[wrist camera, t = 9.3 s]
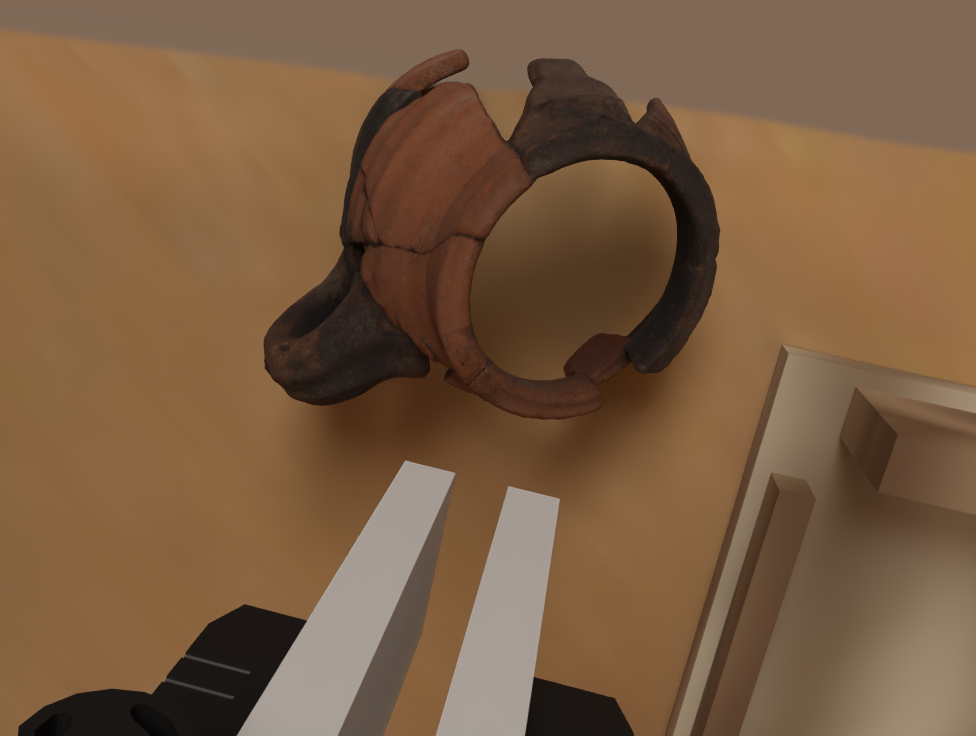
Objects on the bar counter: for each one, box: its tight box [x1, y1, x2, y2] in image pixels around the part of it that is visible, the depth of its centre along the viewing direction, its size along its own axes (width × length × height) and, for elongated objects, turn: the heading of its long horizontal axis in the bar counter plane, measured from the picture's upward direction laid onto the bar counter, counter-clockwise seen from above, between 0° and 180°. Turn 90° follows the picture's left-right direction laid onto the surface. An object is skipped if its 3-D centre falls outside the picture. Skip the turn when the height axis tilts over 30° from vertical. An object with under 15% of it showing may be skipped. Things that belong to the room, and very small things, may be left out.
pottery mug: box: [264, 49, 720, 420], centre depth 24 cm, size 12×10×8 cm
